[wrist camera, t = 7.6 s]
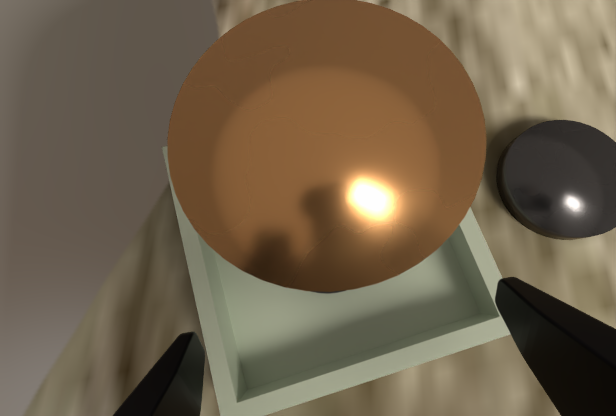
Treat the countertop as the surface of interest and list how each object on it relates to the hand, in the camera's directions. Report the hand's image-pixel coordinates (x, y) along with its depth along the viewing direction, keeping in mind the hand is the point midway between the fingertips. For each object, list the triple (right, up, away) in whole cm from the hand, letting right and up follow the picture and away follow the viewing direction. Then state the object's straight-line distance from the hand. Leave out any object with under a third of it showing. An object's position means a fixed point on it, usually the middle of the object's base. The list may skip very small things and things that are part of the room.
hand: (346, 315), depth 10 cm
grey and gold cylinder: (0, +2, +8) cm, 8 cm away
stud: (+13, +5, +8) cm, 16 cm away
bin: (0, +2, +8) cm, 9 cm away
